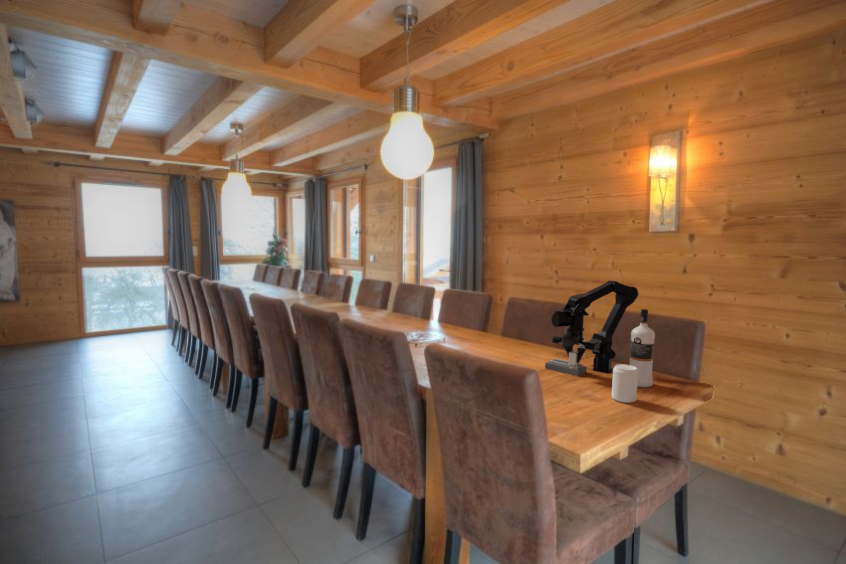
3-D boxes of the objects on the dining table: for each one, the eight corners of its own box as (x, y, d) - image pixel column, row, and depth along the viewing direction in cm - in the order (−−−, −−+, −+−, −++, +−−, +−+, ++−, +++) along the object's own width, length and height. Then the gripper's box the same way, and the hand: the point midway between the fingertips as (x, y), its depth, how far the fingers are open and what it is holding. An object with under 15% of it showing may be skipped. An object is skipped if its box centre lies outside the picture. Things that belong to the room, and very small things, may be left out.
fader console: (586, 372, 192) (586, 364, 192) (577, 376, 186) (578, 368, 186) (554, 364, 202) (554, 357, 202) (545, 368, 197) (545, 360, 196)
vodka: (657, 386, 175) (663, 310, 172) (642, 389, 171) (647, 311, 168) (636, 379, 184) (641, 306, 180) (621, 382, 179) (626, 308, 176)
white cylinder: (637, 405, 155) (639, 371, 154) (612, 402, 158) (614, 368, 156) (634, 397, 163) (636, 365, 162) (610, 394, 165) (612, 362, 164)
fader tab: (579, 366, 192) (580, 351, 191) (574, 368, 189) (575, 353, 188) (572, 364, 194) (573, 350, 193) (568, 366, 191) (568, 352, 190)
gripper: (546, 325, 190) (544, 361, 192) (589, 332, 177) (587, 370, 179) (559, 321, 198) (557, 356, 200) (601, 328, 185) (598, 365, 187)
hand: (574, 362), depth 191 cm, fingers closed on fader tab, 3 cm apart
